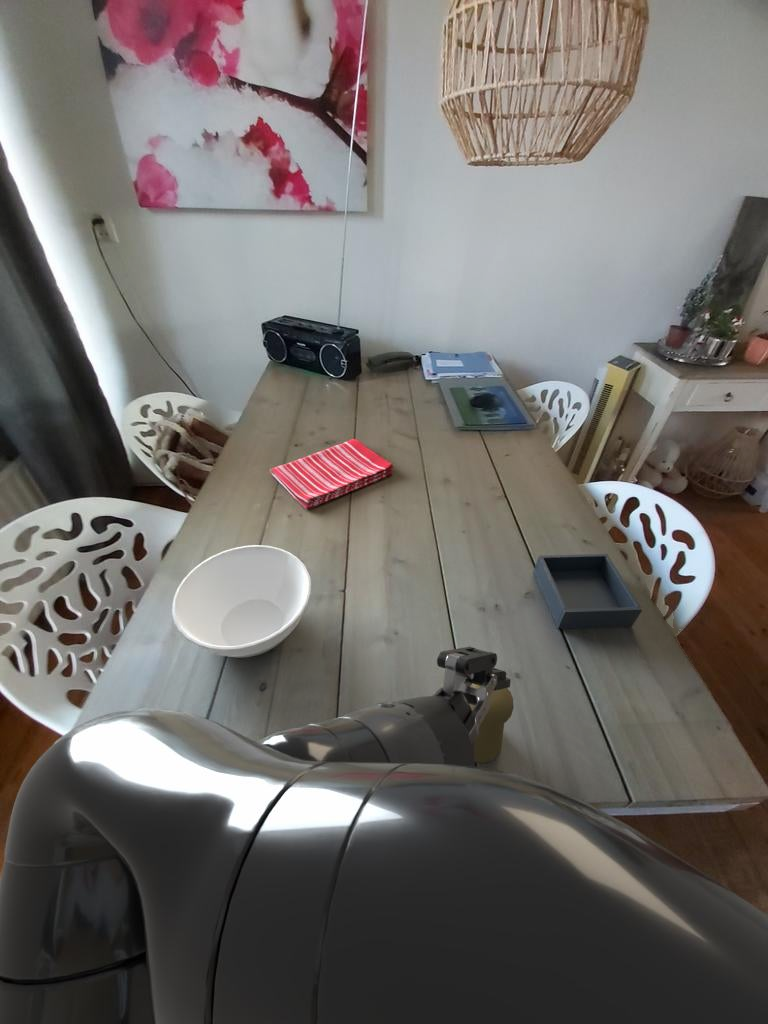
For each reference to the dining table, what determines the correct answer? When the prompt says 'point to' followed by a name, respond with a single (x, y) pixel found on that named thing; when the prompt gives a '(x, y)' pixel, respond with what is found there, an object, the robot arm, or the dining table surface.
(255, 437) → the dining table surface
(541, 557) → the square tray
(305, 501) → the dish towel
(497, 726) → the cork
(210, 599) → the bowl
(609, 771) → the dining table surface
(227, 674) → the dining table surface
